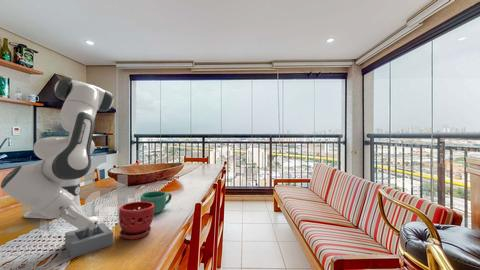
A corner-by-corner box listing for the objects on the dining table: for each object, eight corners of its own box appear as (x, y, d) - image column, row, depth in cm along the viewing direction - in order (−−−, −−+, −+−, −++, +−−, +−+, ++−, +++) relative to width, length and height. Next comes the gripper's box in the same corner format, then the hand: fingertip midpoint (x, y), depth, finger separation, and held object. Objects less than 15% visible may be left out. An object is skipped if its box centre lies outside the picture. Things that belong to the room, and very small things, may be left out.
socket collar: (71, 258, 67) (72, 244, 67) (64, 244, 75) (65, 232, 75) (112, 244, 76) (113, 232, 76) (102, 233, 84) (103, 222, 84)
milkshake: (84, 239, 78) (86, 212, 78) (99, 239, 78) (101, 213, 78) (76, 245, 73) (78, 217, 73) (92, 245, 74) (93, 217, 74)
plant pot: (151, 239, 81) (152, 209, 81) (113, 243, 77) (115, 211, 77) (155, 225, 93) (156, 199, 93) (123, 228, 89) (124, 201, 89)
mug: (144, 218, 101) (145, 199, 101) (137, 211, 110) (137, 193, 110) (176, 210, 112) (176, 193, 112) (167, 204, 121) (167, 188, 121)
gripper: (73, 203, 64) (107, 225, 71) (61, 190, 77) (91, 209, 84) (53, 221, 60) (91, 242, 68) (44, 205, 74) (77, 223, 81)
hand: (91, 224), depth 76 cm, fingers closed on milkshake, 4 cm apart
